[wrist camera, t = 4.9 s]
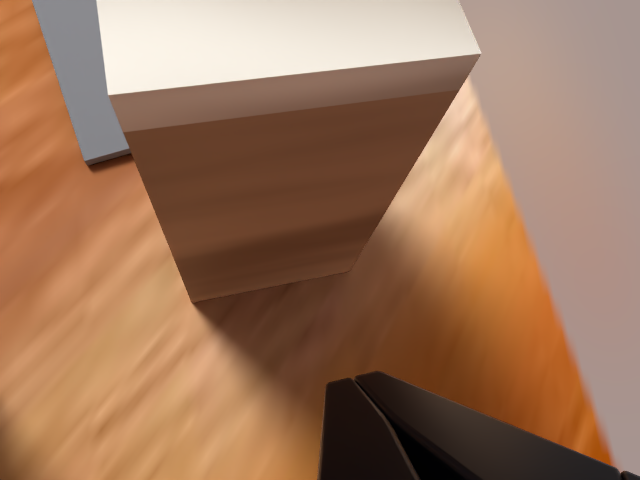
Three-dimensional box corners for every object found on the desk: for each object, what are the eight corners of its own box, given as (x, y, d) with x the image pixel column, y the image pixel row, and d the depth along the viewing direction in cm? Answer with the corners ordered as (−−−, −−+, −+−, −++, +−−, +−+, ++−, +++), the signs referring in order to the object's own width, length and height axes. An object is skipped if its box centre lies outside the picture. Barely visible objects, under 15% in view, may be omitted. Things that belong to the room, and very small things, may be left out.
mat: (360, 87, 19) (362, 82, 19) (86, 165, 16) (84, 161, 16) (271, -79, 22) (271, -86, 21) (21, -35, 19) (18, -42, 19)
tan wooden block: (349, 271, 16) (481, 53, 7) (191, 302, 15) (108, 95, 6) (312, 139, 18) (381, -177, 9) (168, 159, 17) (73, -176, 8)
